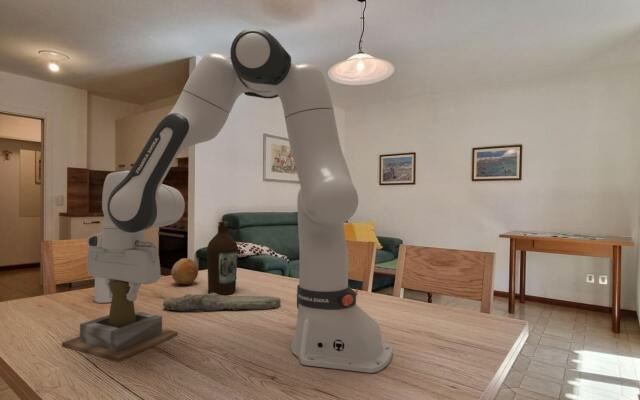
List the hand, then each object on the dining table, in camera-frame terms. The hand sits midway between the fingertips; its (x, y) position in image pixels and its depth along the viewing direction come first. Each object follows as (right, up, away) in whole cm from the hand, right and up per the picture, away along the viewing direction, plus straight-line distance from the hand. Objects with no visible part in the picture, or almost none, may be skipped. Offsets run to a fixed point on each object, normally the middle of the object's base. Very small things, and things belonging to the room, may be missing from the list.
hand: (122, 298), depth 85 cm
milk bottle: (-22, -9, +32) cm, 40 cm away
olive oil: (+11, -10, +44) cm, 47 cm away
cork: (0, -7, 0) cm, 6 cm away
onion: (-6, -10, +55) cm, 56 cm away
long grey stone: (+16, -10, +27) cm, 33 cm away
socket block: (0, -10, 0) cm, 10 cm away
